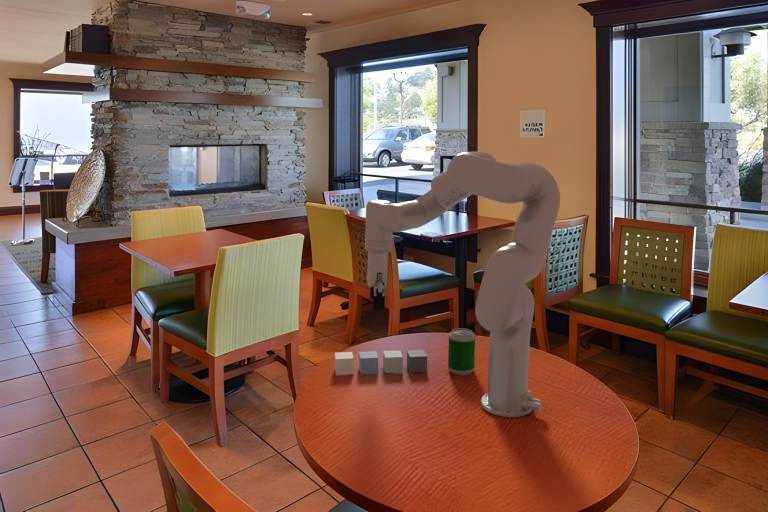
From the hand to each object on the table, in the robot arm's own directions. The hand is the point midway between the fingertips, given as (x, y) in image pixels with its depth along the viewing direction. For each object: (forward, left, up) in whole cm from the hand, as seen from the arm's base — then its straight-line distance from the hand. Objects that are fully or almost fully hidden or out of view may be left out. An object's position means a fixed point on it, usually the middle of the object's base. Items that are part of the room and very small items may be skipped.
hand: (377, 304), depth 160 cm
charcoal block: (-9, -7, -20) cm, 23 cm away
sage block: (-4, -2, -20) cm, 20 cm away
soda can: (-20, -13, -20) cm, 31 cm away
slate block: (+1, +3, -20) cm, 20 cm away
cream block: (+6, +7, -20) cm, 22 cm away
